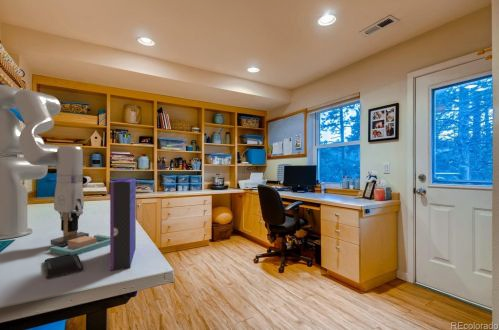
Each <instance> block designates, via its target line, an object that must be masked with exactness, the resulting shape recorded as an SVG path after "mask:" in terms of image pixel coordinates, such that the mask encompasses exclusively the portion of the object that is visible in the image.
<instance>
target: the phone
mask: <svg viewBox="0 0 499 330" xmlns="http://www.w3.org/2000/svg"><path fill="white" fill-rule="evenodd" d="M43 264H44V267H43V268H44V273H45V279H46V280H53V279H57V278H61V277H65V276H69V275H73V274H78V273H81V272H83V271H84V265H83V263H82V261H81V258H80V257H79V255H78V254H74V255H59V256H54V257H49V258H46V259H45V260H44V263H43Z"/></svg>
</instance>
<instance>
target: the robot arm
mask: <svg viewBox="0 0 499 330" xmlns="http://www.w3.org/2000/svg"><path fill="white" fill-rule="evenodd" d="M10 109H13V110H14V109H15V110H18V112H19V115H20V116H21V119H22V121H23V122H24V125H25V126H24V127H23V128H21V123H20V120H19V118H18V117H17V116H16V114H15V113H14V112H13V111H12V110H10ZM61 110H62V105H61V103H60V101H59V99H58V98H56V97H55V96H54V95H50V94H46V93H43V92H38V91H35V90H31V89H30V90H29V89H21V88H18V87H13V86H11V85H5V84H0V154H1V155H2V154H5V155H19V156H5V157H4V156H3V157H0V240H5V239H6V240H8V239H14V238H20V237H24V236H27V235H30V234H32V233H33V229H32V228H29V227H28V189H27V187H26V186H25V185H24V184H23V182H22V181H29V180H30V181H31V180H32V181H33V180H41V179H43V178H45V177H46V176H47V175H48V170H49V169H48V168H49V167H50V166H54V167H55V166H56V184H55V185H56V186H55V190H54V200H53V210H55V211H56V212H58V213H59V216H60V217H59V218H60V222H61V223H60V230H61V231H62V232H63V212H67V213H69V221H68V232H72V231H76V230H77V231H79V219H80V216H81V215H83V213H84V211H83V209H84V205H85V202H84V201H85V200H84V197H85V196H84V188H83V181H84V179H83V178H84V177H83V169H84V166H83V164H84V160H83V158H84V155H83V154H84V151H83V148H82V147H81V146H79V145H53V144H45V142H44V139H43V138H42V137H41V136H40V134H43V133H46V132H47V131H50V130H51V129H53V128H54V125H55V121H54V119H53V117H56V116H58V115H59V114H60V113H61ZM21 129H22V130H21ZM22 155H23V157H21V156H22ZM72 213H74V214H73V215H72Z"/></svg>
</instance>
